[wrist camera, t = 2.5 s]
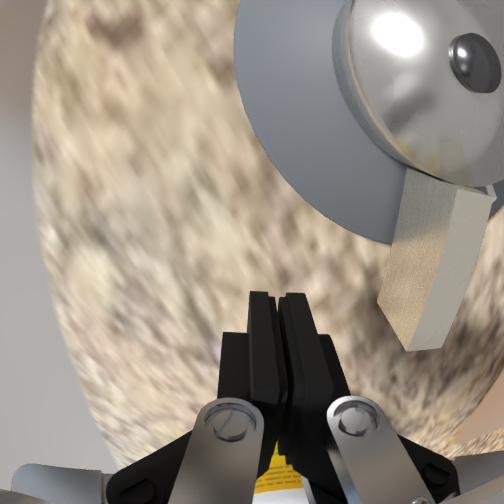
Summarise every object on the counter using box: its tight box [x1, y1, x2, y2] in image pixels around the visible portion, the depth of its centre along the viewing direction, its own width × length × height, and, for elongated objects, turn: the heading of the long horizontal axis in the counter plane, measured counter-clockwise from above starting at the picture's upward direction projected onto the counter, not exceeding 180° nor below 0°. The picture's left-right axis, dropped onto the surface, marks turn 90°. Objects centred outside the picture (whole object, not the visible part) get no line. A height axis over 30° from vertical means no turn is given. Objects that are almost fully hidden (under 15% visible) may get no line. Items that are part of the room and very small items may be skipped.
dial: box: [332, 0, 504, 352], centre depth 10 cm, size 17×10×4 cm, turn 176°
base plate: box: [234, 0, 504, 244], centre depth 12 cm, size 18×18×2 cm
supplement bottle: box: [252, 443, 309, 504], centre depth 15 cm, size 7×7×13 cm
